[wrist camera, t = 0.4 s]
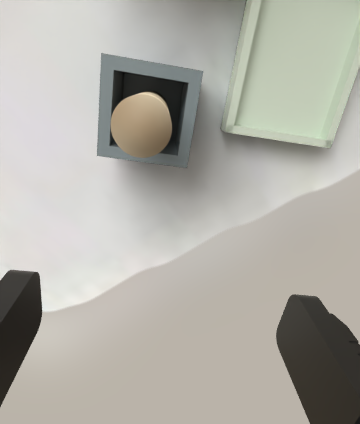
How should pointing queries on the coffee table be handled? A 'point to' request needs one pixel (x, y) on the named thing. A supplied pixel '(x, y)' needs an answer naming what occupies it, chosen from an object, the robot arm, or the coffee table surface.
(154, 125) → the dowel
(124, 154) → the grey square box
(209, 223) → the coffee table surface
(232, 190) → the coffee table surface
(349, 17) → the tray
